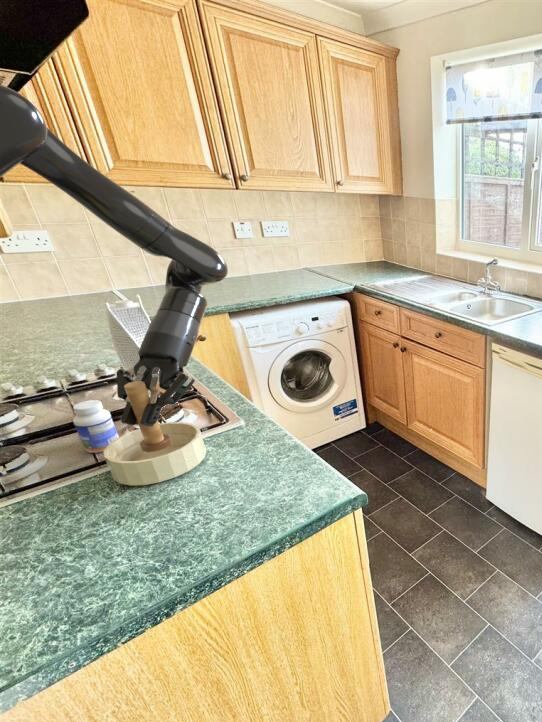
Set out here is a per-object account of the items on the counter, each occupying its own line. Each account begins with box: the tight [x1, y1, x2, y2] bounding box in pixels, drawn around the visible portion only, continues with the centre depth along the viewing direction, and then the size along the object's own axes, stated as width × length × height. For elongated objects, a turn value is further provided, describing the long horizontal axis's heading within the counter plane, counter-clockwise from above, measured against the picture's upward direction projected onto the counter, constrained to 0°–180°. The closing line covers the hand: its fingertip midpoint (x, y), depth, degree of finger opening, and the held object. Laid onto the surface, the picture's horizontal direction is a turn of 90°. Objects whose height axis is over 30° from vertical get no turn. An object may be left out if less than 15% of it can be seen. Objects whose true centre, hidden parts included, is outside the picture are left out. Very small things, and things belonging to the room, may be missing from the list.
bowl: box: [103, 421, 207, 486], centre depth 80 cm, size 14×14×6 cm
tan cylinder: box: [124, 381, 171, 452], centre depth 77 cm, size 4×4×13 cm
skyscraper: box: [105, 293, 174, 397], centre depth 94 cm, size 8×8×28 cm
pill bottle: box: [72, 399, 120, 454], centre depth 84 cm, size 5×5×10 cm
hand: (137, 424), depth 75 cm, fingers closed on tan cylinder, 3 cm apart
